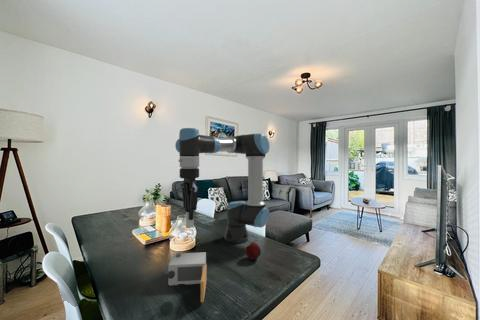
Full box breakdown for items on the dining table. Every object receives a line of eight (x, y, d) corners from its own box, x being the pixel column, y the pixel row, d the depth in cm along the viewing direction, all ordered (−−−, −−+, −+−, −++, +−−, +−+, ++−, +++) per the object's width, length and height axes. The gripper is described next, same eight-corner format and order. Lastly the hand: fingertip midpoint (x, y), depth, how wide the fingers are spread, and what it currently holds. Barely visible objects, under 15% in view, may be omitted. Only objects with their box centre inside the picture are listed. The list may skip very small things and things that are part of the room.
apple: (252, 253, 108) (252, 238, 108) (264, 259, 102) (264, 243, 102) (242, 258, 103) (242, 242, 103) (254, 264, 97) (254, 247, 97)
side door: (203, 281, 82) (203, 263, 82) (206, 281, 82) (206, 263, 82) (200, 302, 70) (200, 281, 70) (203, 302, 70) (203, 281, 70)
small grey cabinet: (205, 269, 92) (205, 250, 92) (204, 285, 81) (204, 262, 81) (173, 271, 90) (173, 251, 90) (167, 287, 79) (167, 264, 79)
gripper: (174, 167, 84) (175, 224, 84) (186, 168, 73) (186, 234, 74) (192, 166, 88) (192, 221, 89) (205, 168, 78) (205, 230, 78)
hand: (189, 227), depth 81 cm, fingers closed
